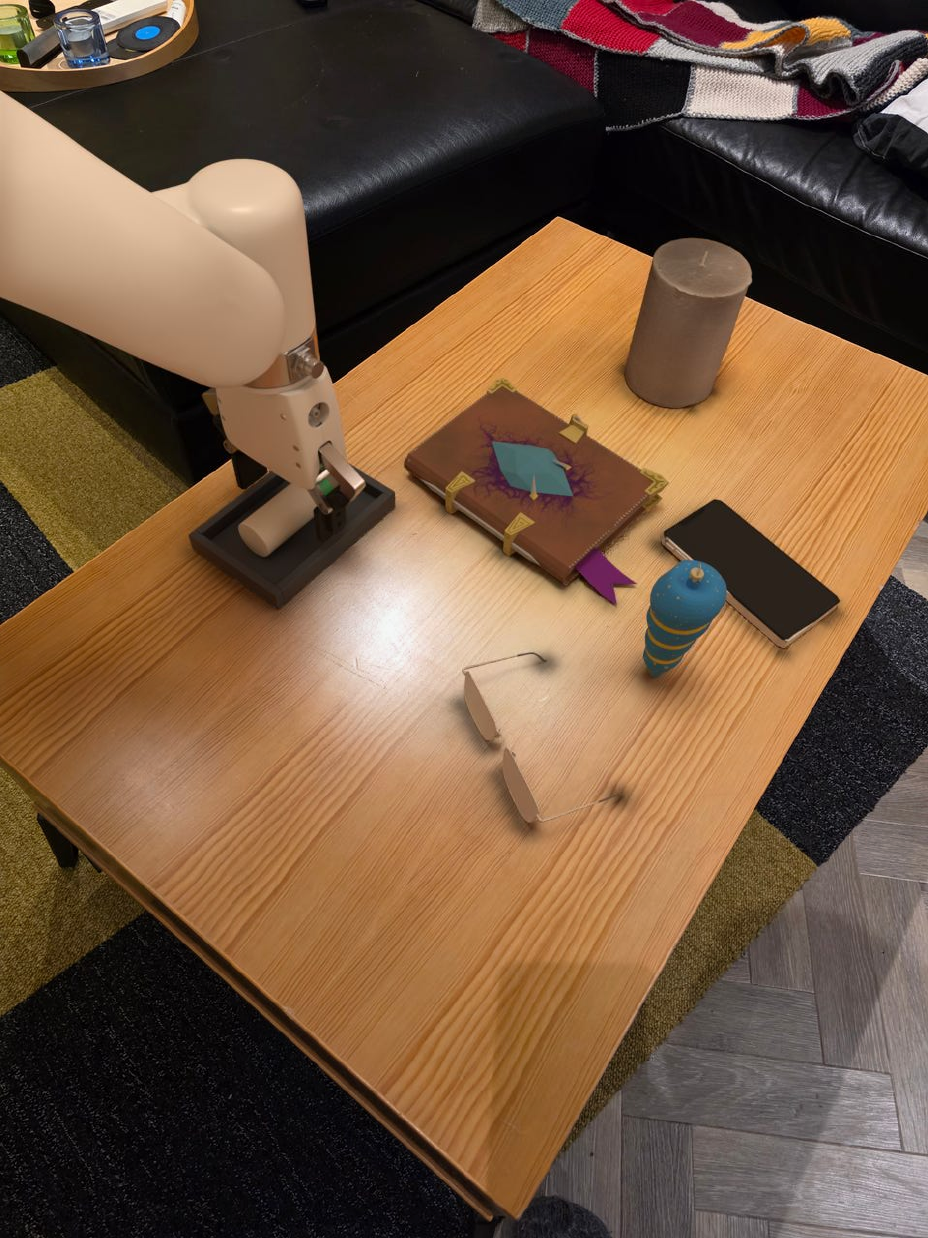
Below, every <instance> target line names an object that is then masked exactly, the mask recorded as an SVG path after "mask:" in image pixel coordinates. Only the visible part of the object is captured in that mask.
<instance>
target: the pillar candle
mask: <svg viewBox="0 0 928 1238" xmlns="http://www.w3.org/2000/svg"><path fill="white" fill-rule="evenodd" d="M752 276H753V271H752V269H751V265H750V263H749V262H748V260H747V259H746V258H745V257H744V256H743V255H742V254H741V252H739V251H737V250H736V249H734V248H732V247H731V246H728V245H726V244H724V243H721V242H718V241H715V240H711V239H708V238H707V239H705V238H697V237H688V238H679V239H674V240H669V241H668V242H666V243H664V244H662V245H660V246H659V247H658V248H657V249H656V250H655V252H654V255H653V256H652V261H651V265H650V269H649V271H648V277H647V280H646V284H645V288H644V292H643V297H642V300H641V302H640V303H641V304H640V307H639V311H638V314H637V320H636V323H635V327H634V330H633V335H632V339H631V342H630V347H629V351H628V354H627V359H626V363H625V367H624V379H625V382H626V384H627V385H628V387H629V389H630V390H631V391H632V392H633V393H634V394H635V395H636V396H638V397H639V398H641V399H642V400H644V401H646V402H648V403H651V404H653V405H656V406H659V407H664V408H669V409H681V408H684V407H688V406H692V405H695V404H698V403H701V402H703V401H704V400H706V398H707V397H709V396H710V395H711V392H712V390H713V387H714V385H715V382H716V379H717V376H718V374H719V371H720V369H721V366H722V363H723V360H724V358H725V355H726V352H727V351H728V347H729V344H730V341H731V338H732V336H733V332H734V329H735V326H736V324H737V323H736V322H737V320H738V317H739V314H740V312H741V308H742V306H743V303H744V300H745V297H746V295H747V292H748V289H749V286H751V284H752V283H753V278H752Z"/></svg>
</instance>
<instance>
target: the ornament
mask: <svg viewBox="0 0 928 1238" xmlns="http://www.w3.org/2000/svg"><path fill="white" fill-rule="evenodd" d="M726 595H727V589H726V584H725V582H724V579H723V578H722V576H721V575H720V574H719V573H718V571H717V570H716V569H714V568H713V567H712V566H710V565H708V564H706V563H703V562H700V561H696V560H683V561H681V560H680V561H679V562H678V563H677V564H675V565H674V566H673V567H671V569H669V570H668V571H667V572H665V573H664V574H662V575H661V576H660V577H659V578H657V580H656V581H655V583H654V584H653V586H652V587H651V591H650V593H649V604H650V605H649V607H648V608H647V611H646V625H647V628H646V630H645V633H644V644H645V647H644V649H643V652H642V659H643V663H644V665H645V667H646V669H647V672H648V674H649V676H650V677H651V678H653V679H657V678H659V677H661V676H662V675H664V674H666V673H668V672H670V671H671V670H673V669H674V668H676V667H677V666H678V665H679V664H680V663H681V661H682V660H683V659H684V656H685V654H686V653H688V652H689V651H690V650H692V648H693V647H694V645H695V644H696V642H697V639H699V638H700V637H702V636H703V635H704V634H705V633H706V632H707V630H708V629H709V628H710V627H711V624H712V623H713V620H714V619H715V618H716V617H718V615H720V613H721V611H722V610H723V608H724V606H725V605H726V602H727V601H726Z"/></svg>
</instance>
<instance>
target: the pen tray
mask: <svg viewBox="0 0 928 1238" xmlns="http://www.w3.org/2000/svg"><path fill="white" fill-rule="evenodd" d="M349 464H350V465H351V466H352V467H353V469H354V470H355V471H356V472H357V473H358V474H359V475H360V476H361V477H362V478H363V479H364V481H365V483H366V486H365V487H364V489H363V490H362V491H361V492H360V494H359V496H357V497H356V498H355V499H354V500H353V501H352V502H350V503H349V504H348V505H347V506H346V518H347V522H346V524H345V527H344V528H343V529H342V530H341V531H340V532H339V533H338V534H336V535H335V534H334V535H333V536H332V537H330V538H329V539H328V540H327V541H326V542H324V543H322V542H320V541H319V540H318V539H317V536H316V528H315V521H314V518H312V519H311V520H310V521H309V522H308V523H306V524H305V525H304V526H303V527H302V528H300V529H299V530H298V531H297V532H296V533H294V534H293V535H292V536H291V537H290V538H288V539H287V540H286V541H285V542H284V543H282V544H281V545H280V546H279V547H278V548H276V549H275V550H274V551H273V552H272V553H270V554H269V555H268V556H267V557H262V556H259V555H257V554H256V553H255V552H253V551H252V550H251V549H250V548H249V547H248V546H247V545H246V543H245V542H244V541H243V539H242V538H241V536H240V534H239V530H238V526H239V524H240V523H242V522H243V521H244V520H246V519H247V518H248V517H249V516H251V515H252V514H253V513H254V512H256V511H257V510H258V509H259V508H261V507H262V506H263V505H264V504H266V503H267V502H268V501H269V500H271V499H272V498H273V497H275V496H276V495H277V494H278V493H280V492H281V491H282V490H283V489H285V488H286V487H287V486H288V485H290V484H291V483H290V482H288V481H287V480H285V479H284V478H282V477H280V476H279V475H277V474H276V473H274V472H273V471H271V470H269V472H267V474H266V475H264V476H263V477H262V478H260V479H259V480H258V481H257V482H255V483H254V484H253V485H251V486H250V487H249V488H247V489H246V490H244V491H243V492H241V493H240V494H239V495H238V496H237V497H235V498H234V499H232V500H231V501H230V502H229V503H227V504H226V505H225V506H224V507H222V508H220V510H218V511H216V513H214V514H213V515H212V516H210V517H209V518H207V520H206V521H204V522H203V523H201V524H200V525H199V526H198V527H196V528H195V529H194V530H192V531H191V532H190V533H188V538H189V541H190V544H191V547H192V548H191V549H192V550H193V551H194V552H195V553H197V554H198V555H200V556H201V557H203V558H204V559H205V560H207V561H208V562H210V563H211V564H212V565H214V566H215V567H217V568H218V569H219V570H221V571H222V572H224V573H225V574H226V575H228V576H229V577H230V578H232V579H234V580H235V581H236V582H238V583H239V584H240V585H242V586H243V587H245V588H246V589H248V590H249V591H250V592H252V593H253V594H254V595H256V596H258V597H259V598H260V599H262V600H263V601H264V602H266V603H267V604H268V605H270V606H271V607H273V608H274V609H276V610H277V611H280V610H281V609H283V607H285V605H287V604H288V603H289V602H290V601H291V600H292V599H293V598H294V597H295V596H297V595H298V594H299V593H301V591H302V590H303V589H305V588H306V587H307V586H308V585H309V584H310V583H311V582H313V581H314V580H315V579H316V578H317V577H319V576H320V574H322V573H323V572H324V571H325V570H326V569H327V568H328V567H329V566H331V565H332V564H333V563H334V562H335V561H336V560H338V559H339V558H340V557H341V556H342V555H343V554H345V552H346V551H348V550H349V549H350V548H351V547H352V546H354V544H355V543H357V542H358V541H359V540H360V539H361V538H362V537H364V535H366V534H367V533H368V532H369V531H370V530H372V529H373V528H374V527H375V526H376V525H377V524H378V523H379V522H380V521H381V520H383V519H384V518H385V517H386V516H387V515H388V514H389V513H391V512H392V511H393V510H394V509H395V508H396V491H394V489H391V488H390V487H389V486H387V485H385V484H383V483H381V482H380V481H378V480H377V479H375V478H373V477H372V476H370V475H368V474H367V473H366V472H364V471H362V470H361V469H359V468H357V467H356V466H354V465H352V464H351V463H349Z"/></svg>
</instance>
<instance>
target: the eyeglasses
mask: <svg viewBox="0 0 928 1238" xmlns="http://www.w3.org/2000/svg"><path fill="white" fill-rule="evenodd" d="M528 655H534V656H536V657H537V658H538V659H539V660H540V661H541V662H543V663H546V662H547V659H545V658H543V656H541V655H540V654H538V653H536V652H534V651H531V652H524V653H523V652H522V653H519V654H516V655H515V654H514V655H511V656H507V657H502V658H498V659H493V660H489V661H485V662H481V663H476V664H471V665H467V666H465V667H463V668H462V670H461V671H462V675H463V676H464V681H463V682H464V684H463V695H464V700H465V704H466V708H467V709H468V712H469V714H470V716H471V718H472V720H473V722H474V724H475V726H476V728H477V729H478V731H479V732H480V735H481V736H482V737H483V738H484V740H486V741H491V740H493V739H494V738H495V739H499V738H501V739H502V742H503V746H504V749H503V754H502V774H503V778H504V781H505V784H506V787H507V789H508V792H509V794H510V796H511V799H512V800H513V802H514V804H515V806H516V808H517V810H518V812H519V814H520V815H521V816H522V818H523V819H524V821H525V822H527V823H529V824H531V823H533V822H534V821H536V820H537V821H538V822H539V823H546V822H549V821H552V820H555V819H557V818H561V817H563V816H566V815H569V814H571V813H573V812H577V811H580V810H582V809H585V808H588V807H591V806H593V805H596V804H600V803H603V802H605V801H608V800H610V799H612V798H615V797H624V796H625V794H621V793H615V794H612V795H610V796H607V797H605V798H601V799H599V800H597V801H594V802H591V803H588V804H585V805H583V806H580V807H576V808H573V809H569V810H567V811H564V812H561V813H557V814H556V815H552V816H548V817H545V818H541V816H540V807H539V805H538V801H537V800H536V797H535V795H534V794H533V792H532V790H531V787H530V786H529V783H528V782H527V780H526V777H525V776H524V773H523V771H522V770H521V768H520V765H519V764H518V762H517V760H516V756H517V752H516V751H514V750H513V749H509V748H508V747H507V743H506V739H505V737H504V735H503V734H502V733H503V730H504V729H503V727H500V728H499V729H498V727H497V724H496V721H495V718H494V716H493V714H492V712H491V710H490V707H489V705H488V704H487V702H486V700H485V698H484V696H483V694H482V692H481V690H480V688H479V687H478V685H477V683H476V681H475V679H474V678H473V676H472V674H471V673H470V671H468V670H469V669H473V668H477V667H483V666H485V665H489V664H493V663H497V662H500V661H505V660H508V659H513V658H516V657H523V656H528Z"/></svg>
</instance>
